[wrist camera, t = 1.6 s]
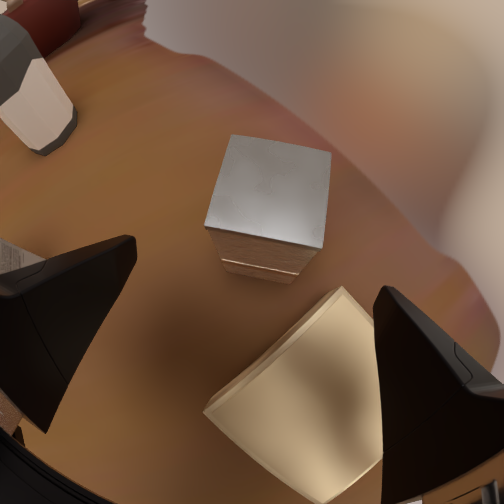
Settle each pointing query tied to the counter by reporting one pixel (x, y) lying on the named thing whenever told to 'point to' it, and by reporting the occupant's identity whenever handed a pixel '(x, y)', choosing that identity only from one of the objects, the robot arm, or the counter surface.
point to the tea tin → (269, 207)
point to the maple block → (310, 401)
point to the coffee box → (15, 257)
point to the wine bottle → (31, 92)
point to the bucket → (46, 21)
